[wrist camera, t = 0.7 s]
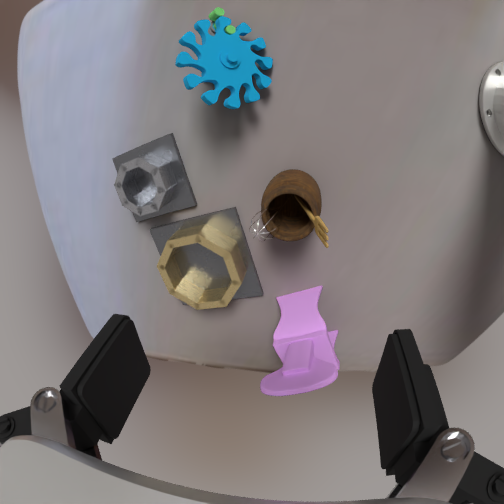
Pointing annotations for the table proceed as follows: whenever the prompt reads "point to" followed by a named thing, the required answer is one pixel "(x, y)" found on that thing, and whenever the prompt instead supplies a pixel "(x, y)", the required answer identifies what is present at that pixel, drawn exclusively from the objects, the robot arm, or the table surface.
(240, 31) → the gear
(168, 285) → the wide socket
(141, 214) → the narrow socket
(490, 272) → the table surface
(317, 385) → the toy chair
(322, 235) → the utensil holder
